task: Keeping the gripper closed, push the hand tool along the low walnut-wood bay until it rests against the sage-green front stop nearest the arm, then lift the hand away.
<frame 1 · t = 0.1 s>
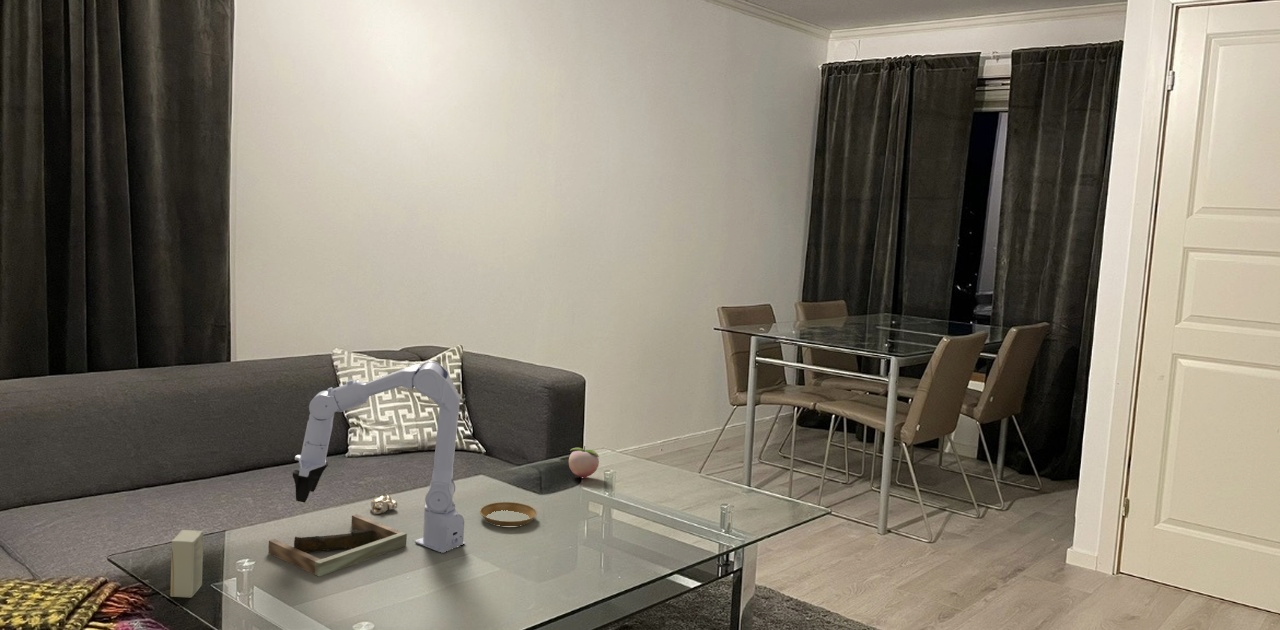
hand: (305, 495, 234), 10 cm above the table, tool pointing down, fingers open, 7 cm apart
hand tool: (336, 550, 231), on the table
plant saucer: (507, 521, 258), on the table
skincare box: (186, 592, 203), on the table
decorative fruit: (582, 479, 297), on the table
ornament: (383, 511, 258), on the table
bay: (338, 549, 230), on the table
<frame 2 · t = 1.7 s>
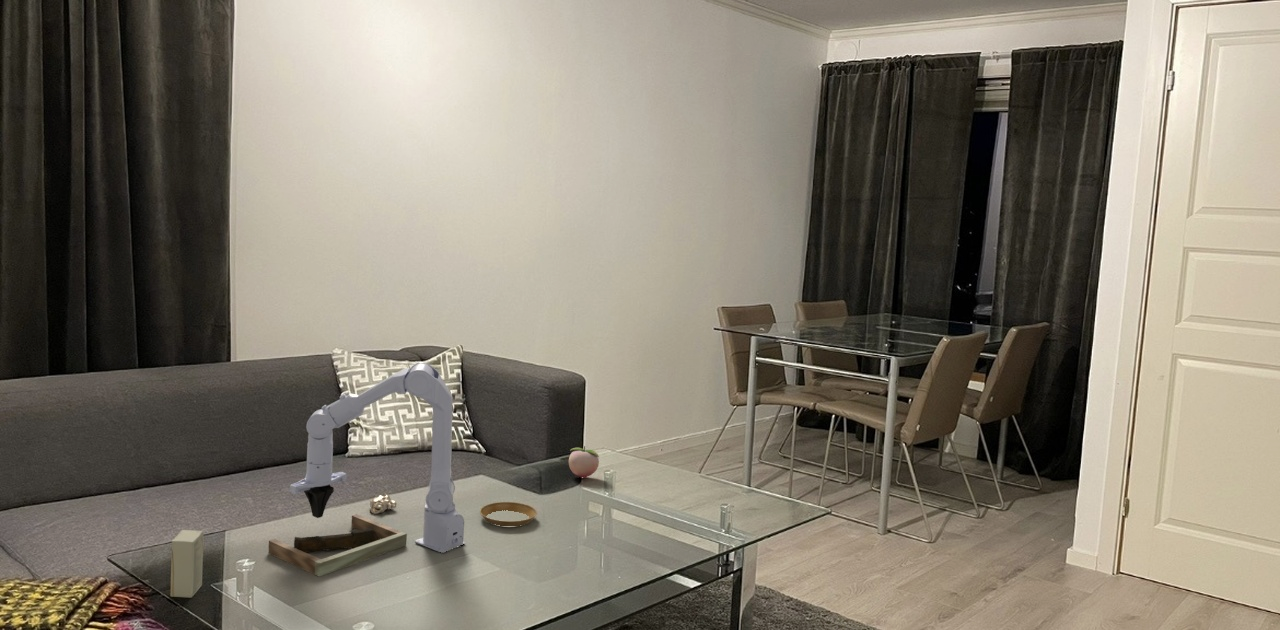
hand: (317, 516, 234), 6 cm above the table, tool pointing down, fingers closed
nothing on the table moved.
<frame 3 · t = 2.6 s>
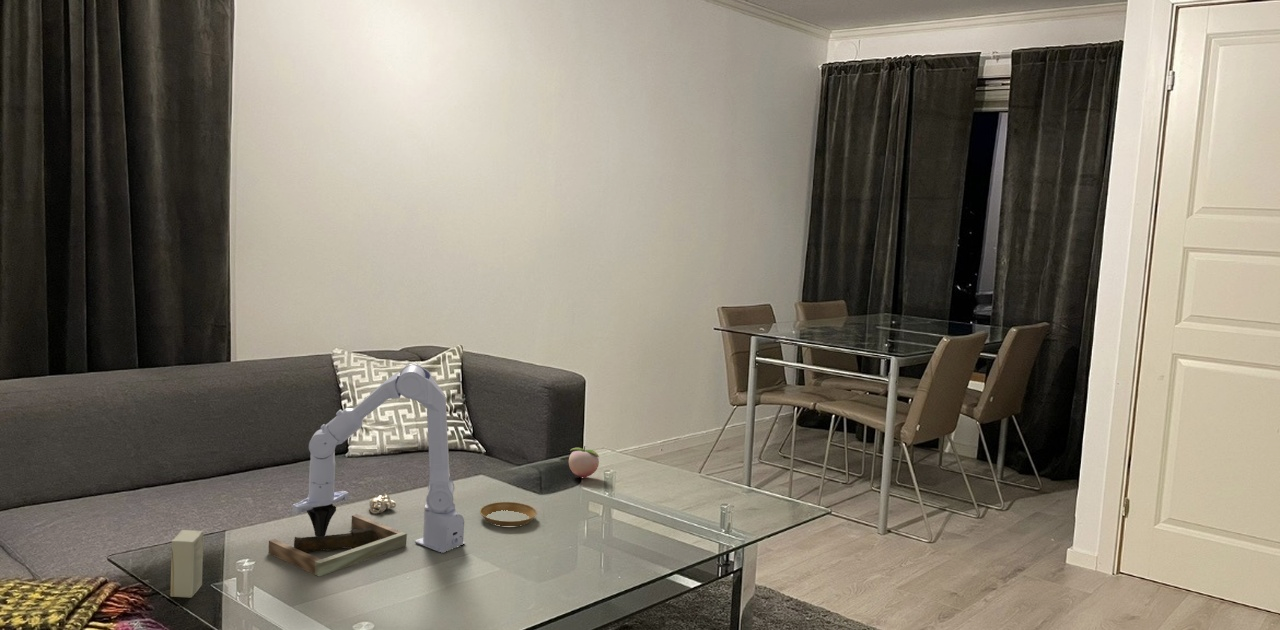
hand: (320, 535, 234), 1 cm above the table, tool pointing down, fingers closed
nothing on the table moved.
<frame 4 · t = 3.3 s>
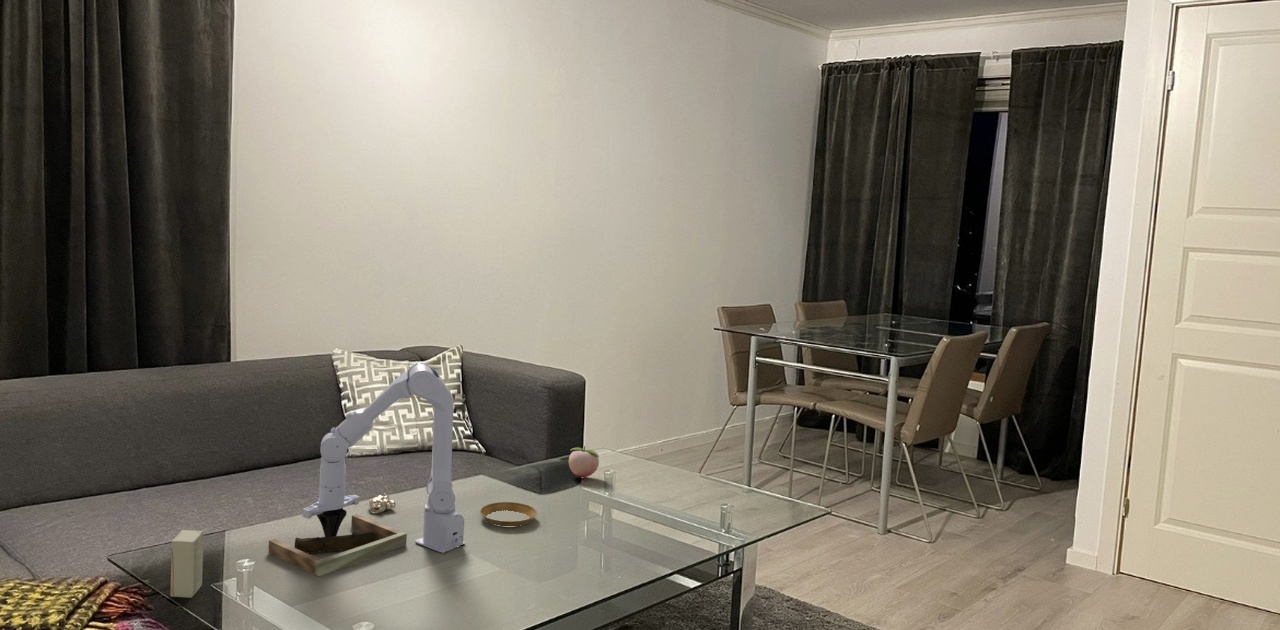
hand: (330, 539, 232), 1 cm above the table, tool pointing down, fingers closed
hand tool: (336, 551, 230), on the table, touching gripper
everything else where it was.
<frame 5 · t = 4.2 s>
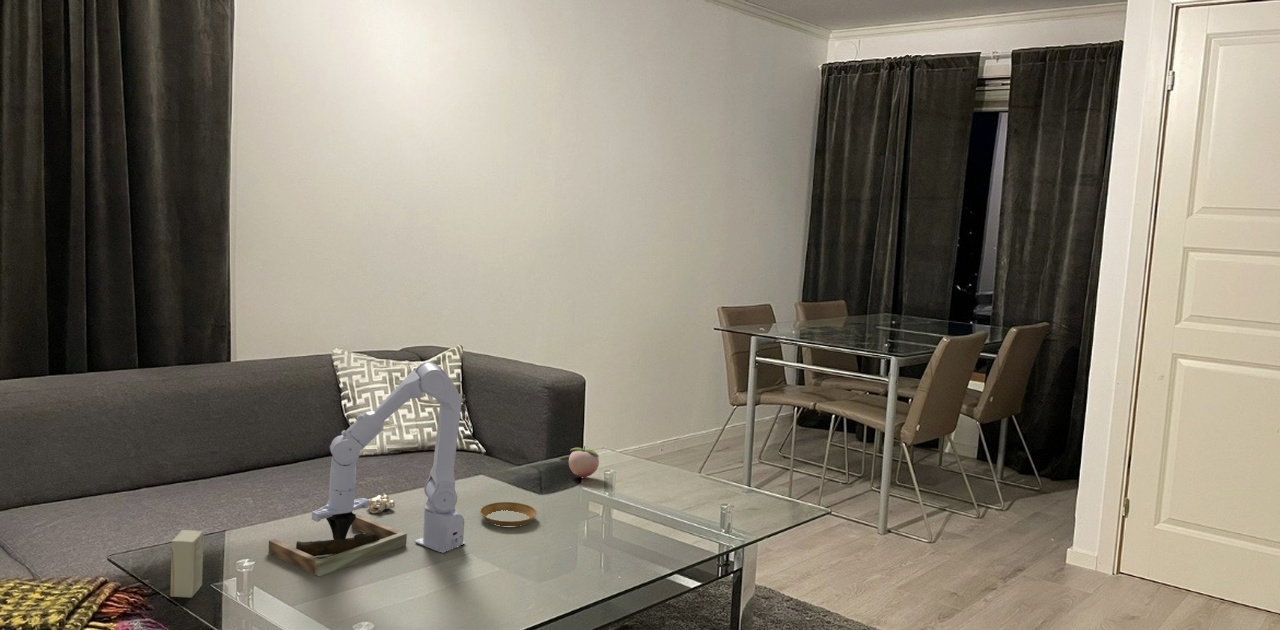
hand: (338, 543, 230), 2 cm above the table, tool pointing down, fingers closed
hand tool: (338, 554, 228), on the table, touching bay, gripper
everything else where it was.
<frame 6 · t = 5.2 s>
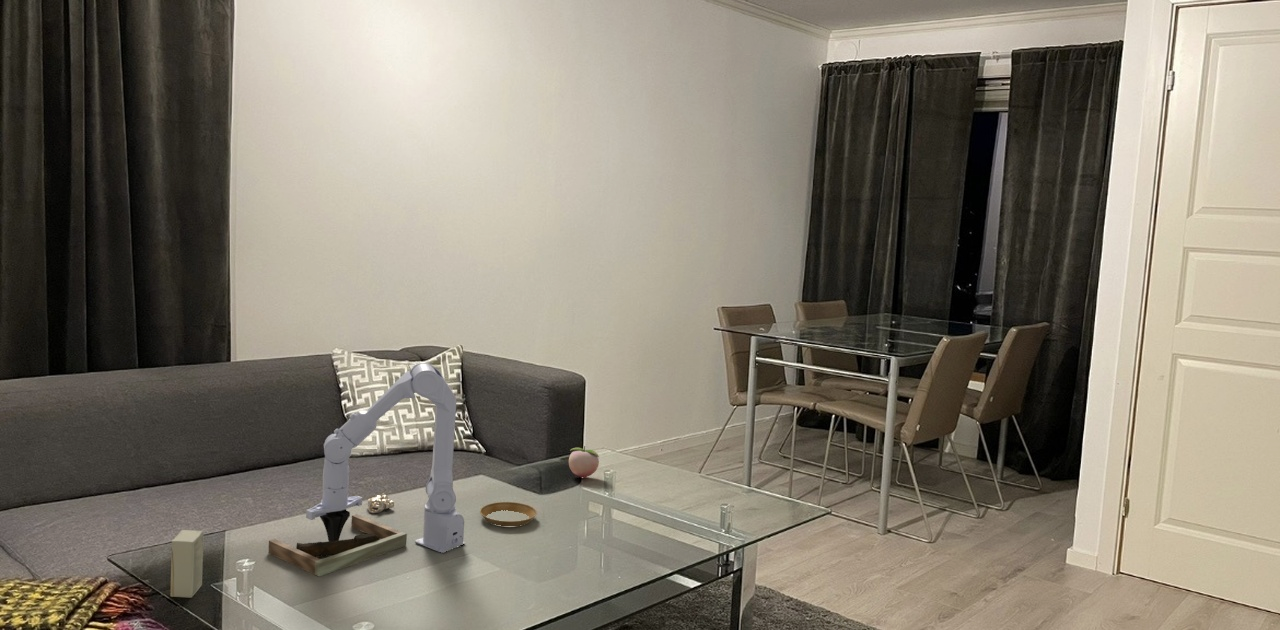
hand: (333, 541, 231), 1 cm above the table, tool pointing down, fingers closed
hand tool: (338, 556, 228), on the table
everything else where it was.
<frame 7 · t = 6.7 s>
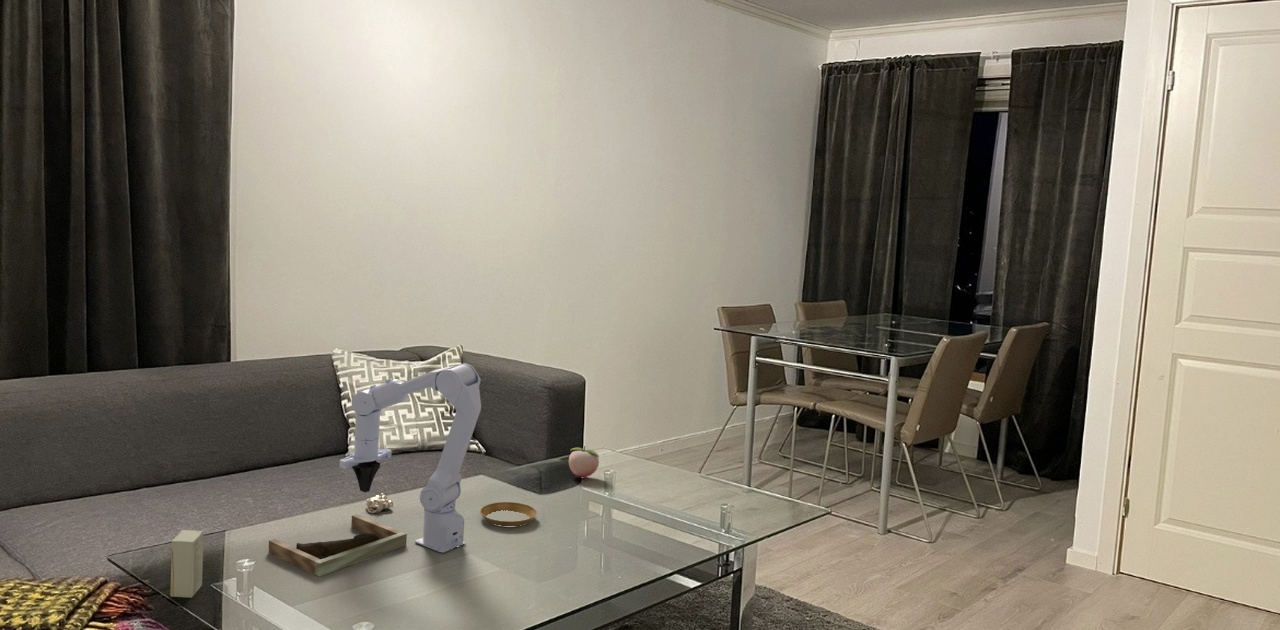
hand: (364, 490, 244), 9 cm above the table, tool pointing down, fingers closed
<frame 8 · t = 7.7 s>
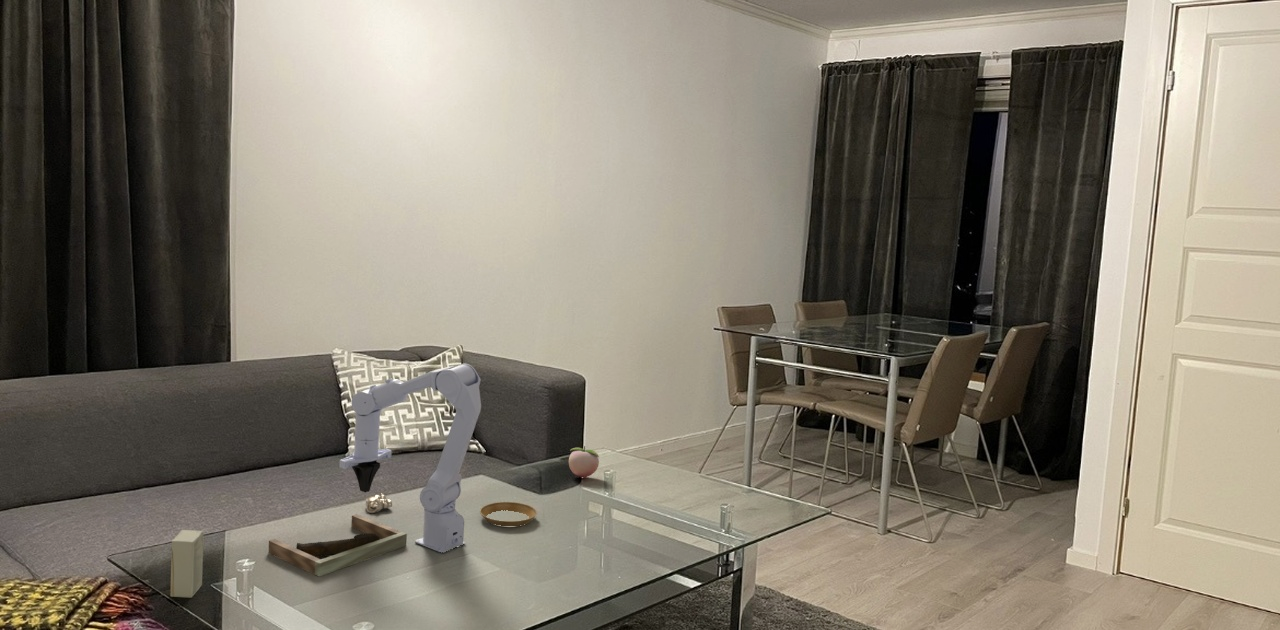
hand: (364, 490, 244), 9 cm above the table, tool pointing down, fingers closed
at the end: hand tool inside the target area (2.9 cm from its centre), on the table; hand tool tilted 2° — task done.
